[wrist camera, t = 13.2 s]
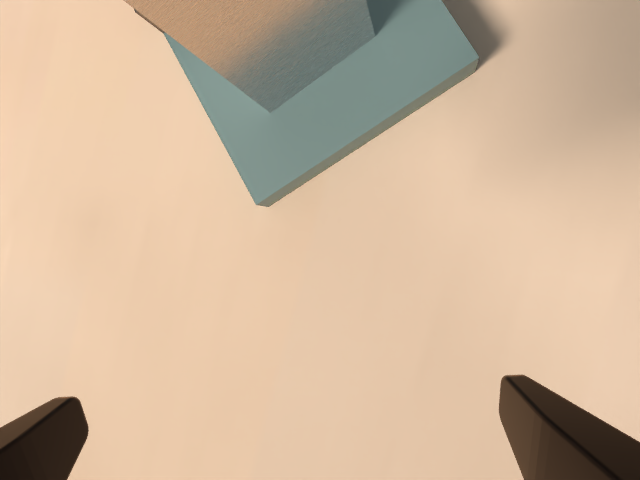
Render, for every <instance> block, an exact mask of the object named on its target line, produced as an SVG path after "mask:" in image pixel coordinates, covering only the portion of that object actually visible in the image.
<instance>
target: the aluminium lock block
mask: <svg viewBox="0 0 640 480" xmlns="http://www.w3.org/2000/svg"><path fill="white" fill-rule="evenodd" d="M124 1H125V2H126V3H128V4H129V5H130V6H132V7H133V8H134V9H135V10H137V11H138V12H139V13H141V14H142V15H143V16H145V17H146V18H147V19H149V20H150V21H151V22H152V23H154V24H155V25H156V26H158V27H159V28H160V29H162V30H163V31H164V32H165V33H167V34H168V35H169V36H171V37H172V38H173V39H175V40H176V41H177V42H178V43H180V44H181V45H182V46H184V47H185V48H186V49H188V50H189V51H190V52H191V53H193V54H194V55H195V56H197V57H198V58H199V59H201V60H202V61H203V62H204V63H206V64H207V65H208V66H210V67H211V68H212V69H214V70H215V71H216V72H217V73H219V74H220V75H221V76H223V77H224V78H225V79H227V80H228V81H229V82H230V83H232V84H233V85H234V86H236V87H237V88H238V89H240V90H241V91H242V92H244V93H245V94H246V95H247V96H249V97H250V98H251V99H253V100H254V101H255V102H257V103H258V104H259V105H260V106H262V107H263V108H264V109H266V110H267V111H268V112H270V113H271V112H273V111H274V110H276V109H277V108H278V107H280V106H281V105H282V104H284V103H285V102H286V101H288V100H289V99H291V98H292V97H293V96H295V95H296V94H297V93H299V92H300V91H302V90H303V89H304V88H306V87H307V86H308V85H310V84H311V83H312V82H314V81H315V80H317V79H318V78H319V77H321V76H322V75H323V74H325V73H326V72H328V71H329V70H330V69H332V68H333V67H334V66H336V65H337V64H338V63H340V62H341V61H343V60H344V59H345V58H347V57H348V56H349V55H351V54H352V53H354V52H355V51H356V50H358V49H359V48H360V47H362V46H363V45H364V44H366V43H367V42H369V41H370V40H371V39H373V38H374V37H375V33H374V29H373V25H372V21H371V17H370V13H369V10H368V6H367V2H366V0H124Z"/></svg>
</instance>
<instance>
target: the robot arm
mask: <svg viewBox="0 0 640 480" xmlns="http://www.w3.org/2000/svg"><path fill="white" fill-rule="evenodd" d="M499 415H500V419H501V422H502V425H503V427H504V430H505V432H506V435H507V437H508V440H509V442H510V445H511V447H512V450H513V453H514V455H515V458H516V460H517V463H518V465H519V468H520V470H521V473H522V476H523V478H524V480H640V442H639V441H637V440H635V439H633V438H632V437H630V436H628V435H627V434H625V433H623V432H621V431H620V430H618V429H616V428H615V427H613V426H611V425H609V424H608V423H606V422H604V421H603V420H601V419H599V418H597V417H596V416H594V415H592V414H591V413H589V412H587V411H585V410H584V409H582V408H580V407H578V406H577V405H575V404H573V403H572V402H570V401H568V400H566V399H565V398H563V397H561V396H560V395H558V394H556V393H554V392H553V391H551V390H549V389H548V388H546V387H544V386H542V385H541V384H539V383H537V382H536V381H534V380H532V379H530V378H529V377H527V376H525V375H506V376H504V377H503V378H502V380H501V387H500V400H499ZM87 436H88V424H87V421H86V418H85V414H84V411H83V408H82V405H81V402H80V400H79V399H78V398H76V397H58V398H55V399H52V400H51V401H49V402H47V403H45V404H43V405H41V406H39V407H38V408H36V409H34V410H32V411H30V412H28V413H27V414H25V415H23V416H21V417H19V418H17V419H15V420H14V421H12V422H10V423H8V424H6V425H4V426H3V427H1V428H0V480H67V479H68V477H69V475H70V473H71V470H72V468H73V466H74V464H75V462H76V460H77V458H78V456H79V454H80V452H81V450H82V448H83V446H84V444H85V441H86V439H87Z"/></svg>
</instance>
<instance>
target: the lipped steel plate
mask: <svg viewBox="0 0 640 480" xmlns="http://www.w3.org/2000/svg"><path fill="white" fill-rule="evenodd" d="M366 2H367V6H368V10H369V13H370V17H371V21H372V25H373V29H374V33H375V37H374V38H373V39H371V40H370V41H369V42H367V43H366V44H364V45H363V46H362V47H360V48H359V49H358V50H356V51H355V52H354V53H352V54H351V55H349V56H348V57H347V58H345V59H344V60H343V61H341V62H340V63H338V64H337V65H336V66H334V67H333V68H332V69H330V70H329V71H328V72H326V73H325V74H323V75H322V76H321V77H319V78H318V79H317V80H315V81H314V82H312V83H311V84H310V85H308V86H307V87H306V88H304V89H303V90H302V91H300V92H299V93H297V94H296V95H295V96H293V97H292V98H291V99H289V100H288V101H286V102H285V103H284V104H282V105H281V106H280V107H278V108H277V109H276V110H274V111H273V112H271V113H270V112H268V111H267V110H266V109H264V108H263V107H262V106H260V105H259V104H258V103H257V102H255V101H254V100H253V99H251V98H250V97H249V96H247V95H246V94H245V93H244V92H242V91H241V90H240V89H238V88H237V87H236V86H234V85H233V84H232V83H230V82H229V81H228V80H227V79H225V78H224V77H223V76H221V75H220V74H219V73H217V72H216V71H215V70H214V69H212V68H211V67H210V66H208V65H207V64H206V63H204V62H203V61H202V60H201V59H199V58H198V57H197V56H195V55H194V54H193V53H191V52H190V51H189V50H188V49H186V48H185V47H184V46H182V45H181V44H180V43H178V42H177V41H176V40H175V39H173V38H172V37H171V36H169V35H168V34H167V33H165V32H164V31H163V30H162V29H160V28H159V27H158V26H156V25H155V24H154V23H152V22H151V21H150V20H149V19H147V18H146V17H145V16H143V15H142V14H141V13H139V12H138V11H137V10H135V9H134V10H135V12H136V13H137V14H138V15H140V16H141V17H142V18H144V19H145V20H146V21H148V22H149V23H150V24H152V25H153V26H154V27H156V28H157V29H158V30H160V31H161V32H162V33H164V35H165V37H166V39H167V41H168V43H169V44H170V46H171V48H172V50H173V52H174V54H175V55H176V57H177V59H178V61H179V63H180V65H181V67H182V68H183V70H184V72H185V74H186V76H187V78H188V80H189V81H190V83H191V85H192V87H193V89H194V91H195V93H196V94H197V96H198V98H199V100H200V102H201V104H202V105H203V107H204V109H205V111H206V113H207V115H208V117H209V118H210V120H211V122H212V124H213V126H214V128H215V130H216V131H217V133H218V135H219V137H220V139H221V141H222V143H223V144H224V146H225V148H226V150H227V152H228V154H229V155H230V157H231V159H232V161H233V163H234V165H235V167H236V168H237V170H238V172H239V174H240V176H241V178H242V180H243V181H244V183H245V185H246V187H247V189H248V191H249V193H250V194H251V196H252V198H253V200H254V202H255V204H256V205H260V206H266V207H269V206H270V205H272V204H273V203H275V202H277V201H278V200H280V199H281V198H283V197H284V196H286V195H287V194H289V193H290V192H292V191H293V190H295V189H296V188H298V187H300V186H301V185H303V184H304V183H306V182H307V181H309V180H310V179H312V178H313V177H315V176H316V175H318V174H319V173H321V172H323V171H324V170H326V169H327V168H329V167H330V166H332V165H333V164H335V163H336V162H338V161H339V160H341V159H342V158H344V157H345V156H347V155H349V154H350V153H352V152H353V151H355V150H356V149H358V148H359V147H361V146H362V145H364V144H365V143H367V142H368V141H370V140H372V139H373V138H375V137H376V136H378V135H379V134H381V133H382V132H384V131H385V130H387V129H388V128H390V127H391V126H393V125H395V124H396V123H398V122H399V121H401V120H402V119H404V118H405V117H407V116H408V115H410V114H411V113H413V112H414V111H416V110H417V109H419V108H421V107H422V106H424V105H425V104H427V103H428V102H430V101H431V100H433V99H434V98H436V97H437V96H439V95H440V94H442V93H444V92H445V91H447V90H448V89H450V88H451V87H453V86H454V85H456V84H457V83H459V82H460V81H462V80H463V79H465V78H467V77H468V76H470V75H471V74H473V73H474V72H475V70H476V67H477V63H478V60H479V56H478V54H477V53H476V51H475V50H474V48H473V47H472V45H471V44H470V42H469V41H468V39H467V38H466V36H465V35H464V33H463V32H462V30H461V29H460V27H459V26H458V24H457V23H456V21H455V20H454V18H453V17H452V15H451V14H450V12H449V11H448V9H447V8H446V6H445V5H444V3H443V2H442V0H366Z"/></svg>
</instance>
